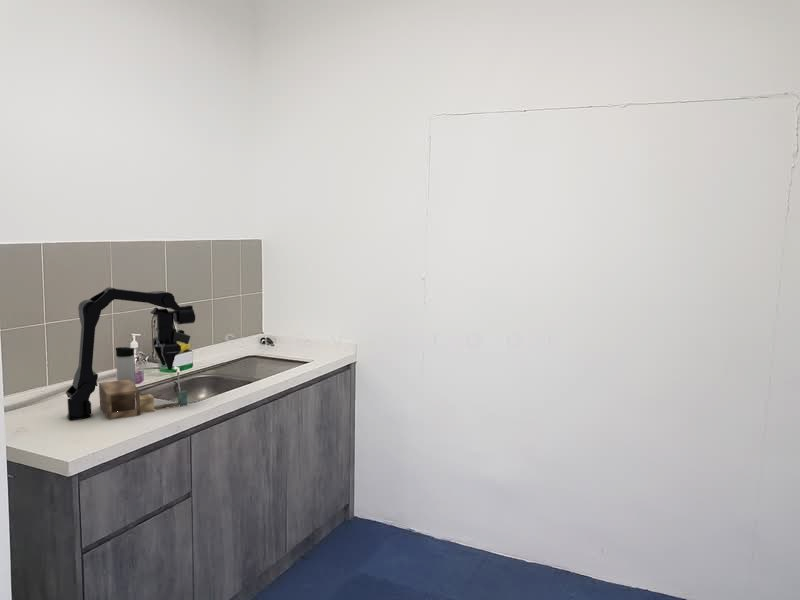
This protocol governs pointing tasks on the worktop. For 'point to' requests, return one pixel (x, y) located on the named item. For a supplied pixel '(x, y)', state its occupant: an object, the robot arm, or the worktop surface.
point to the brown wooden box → (119, 399)
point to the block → (148, 405)
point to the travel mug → (125, 364)
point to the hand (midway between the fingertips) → (166, 367)
